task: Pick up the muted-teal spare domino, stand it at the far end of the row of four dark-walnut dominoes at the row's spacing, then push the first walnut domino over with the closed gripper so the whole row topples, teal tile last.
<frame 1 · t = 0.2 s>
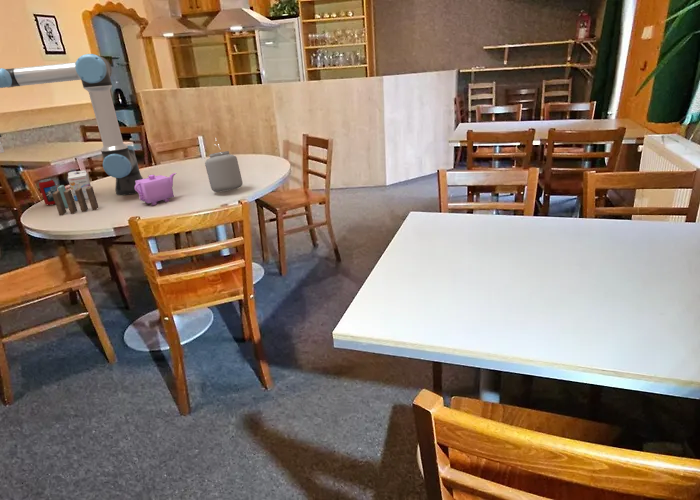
domino 3: (74, 212, 205), on the table
domino 4: (63, 213, 204), on the table
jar: (227, 191, 217), on the table
spare domino: (67, 206, 215), on the table
domino 2: (84, 210, 206), on the table
ink box: (84, 198, 229), on the table
domino 1: (95, 208, 207), on the table
teapot: (161, 201, 210), on the table
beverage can: (53, 204, 223), on the table
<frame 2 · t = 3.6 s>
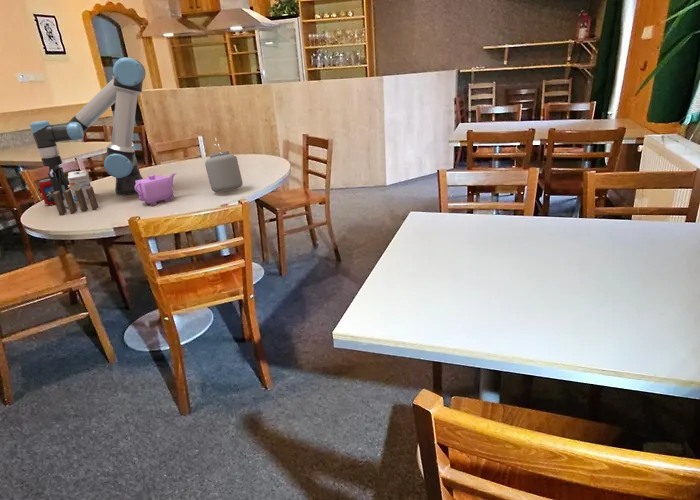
hand: (67, 205, 215), 1 cm above the table, fingers closed on spare domino, 5 cm apart
spare domino: (67, 206, 215), on the table, touching gripper
everything else where it was.
when the fingers open (2 cm above the table, at t = 8.3 s): spare domino drops 1 cm, on the table.
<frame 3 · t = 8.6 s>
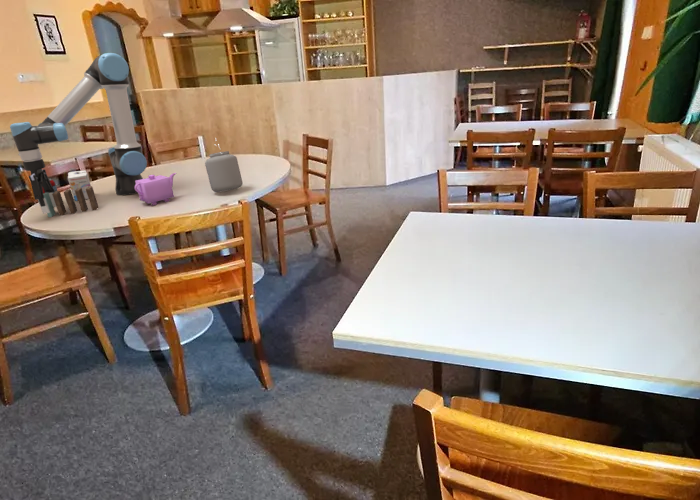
hand: (50, 209, 202), 3 cm above the table, fingers open, 9 cm apart
spare domino: (52, 215, 203), on the table
everything else where it was.
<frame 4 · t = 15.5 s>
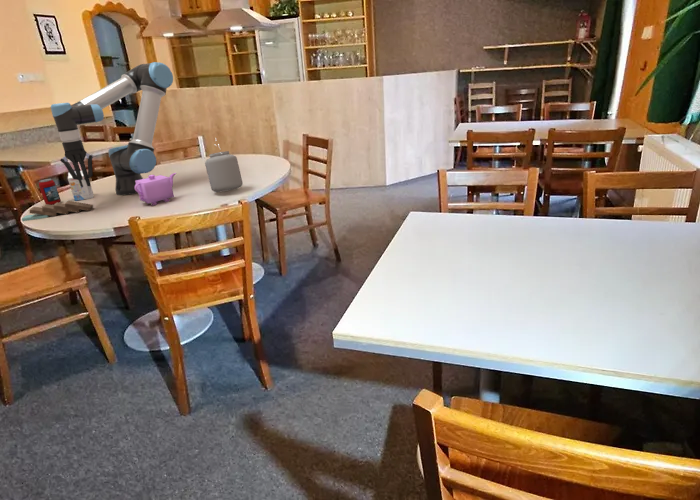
hand: (88, 193, 204), 7 cm above the table, fingers closed
domino 3: (69, 211, 204), point 1 cm above the table, tilted 70°, touching domino 2, domino 4
domino 4: (57, 212, 203), point 1 cm above the table, tilted 72°, touching domino 3, spare domino
spare domino: (49, 215, 202), on the table, tilted 90°, touching domino 4
domino 2: (80, 209, 205), point 1 cm above the table, tilted 70°, touching domino 1, domino 3
domino 1: (91, 207, 206), point 1 cm above the table, tilted 70°, touching domino 2
everything else where it was.
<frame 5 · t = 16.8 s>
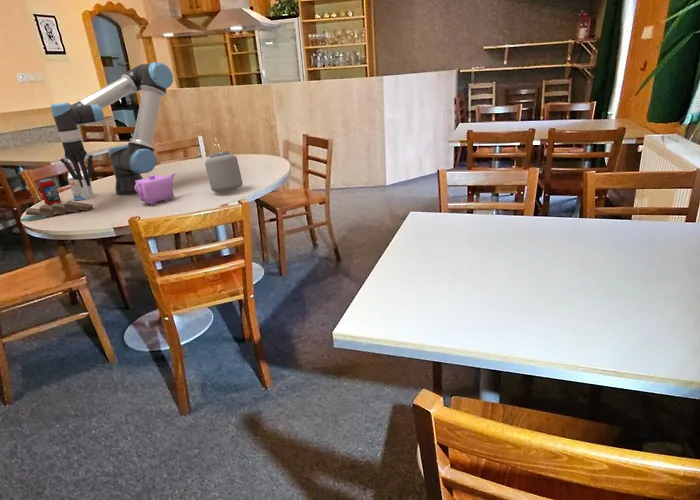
hand: (88, 193, 204), 7 cm above the table, fingers closed
domino 4: (54, 213, 202), point 1 cm above the table, tilted 72°, touching domino 3, spare domino
domino 2: (78, 209, 205), point 1 cm above the table, tilted 70°, touching domino 1, domino 3
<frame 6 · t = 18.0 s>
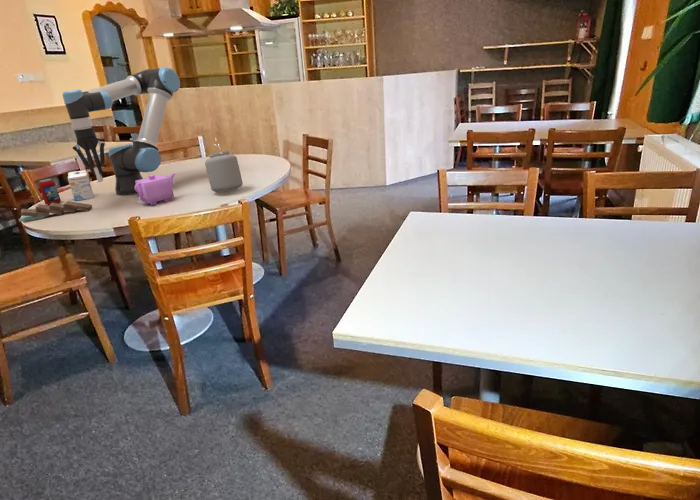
hand: (100, 181, 204), 12 cm above the table, fingers closed
domino 3: (63, 211, 204), point 1 cm above the table, tilted 67°, touching domino 2, domino 4
domino 4: (49, 213, 201), point 1 cm above the table, tilted 74°, touching domino 3, spare domino
domino 2: (76, 209, 205), point 1 cm above the table, tilted 69°, touching domino 3
domino 1: (90, 207, 206), point 1 cm above the table, tilted 72°
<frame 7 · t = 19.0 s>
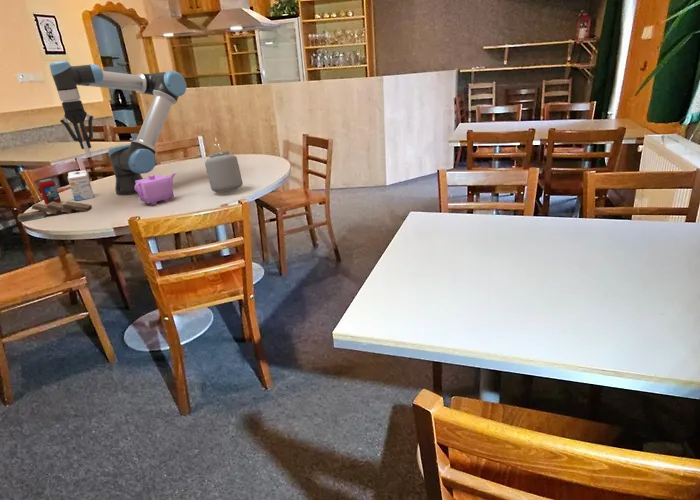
hand: (89, 155, 202), 23 cm above the table, fingers closed
domino 3: (59, 211, 204), point 1 cm above the table, tilted 68°
domino 4: (45, 212, 202), point 2 cm above the table, tilted 89°, touching spare domino
domino 2: (73, 210, 205), point 1 cm above the table, tilted 69°, touching domino 1
domino 1: (89, 208, 206), point 1 cm above the table, tilted 73°, touching domino 2
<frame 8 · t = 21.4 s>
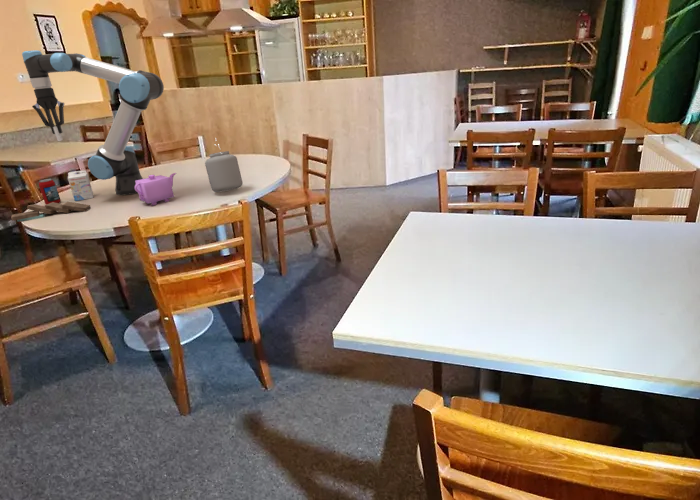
hand: (60, 140, 213), 29 cm above the table, fingers closed
domino 3: (53, 211, 204), point 1 cm above the table, tilted 72°, touching domino 2, domino 4
domino 4: (38, 212, 202), point 2 cm above the table, tilted 89°, touching domino 3, spare domino
domino 2: (71, 210, 205), point 1 cm above the table, tilted 73°, touching domino 3
domino 1: (87, 208, 206), point 1 cm above the table, tilted 75°
at the end: spare domino tilted 90°; domino 4 tilted 90°; spare domino inside the target area (0.9 cm from its centre), on the table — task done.
